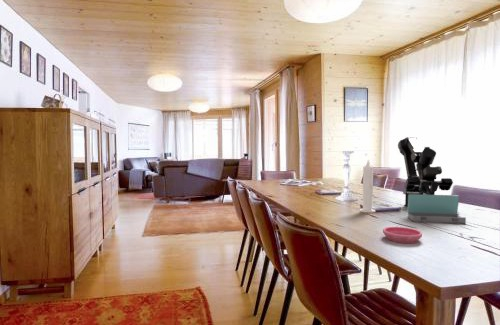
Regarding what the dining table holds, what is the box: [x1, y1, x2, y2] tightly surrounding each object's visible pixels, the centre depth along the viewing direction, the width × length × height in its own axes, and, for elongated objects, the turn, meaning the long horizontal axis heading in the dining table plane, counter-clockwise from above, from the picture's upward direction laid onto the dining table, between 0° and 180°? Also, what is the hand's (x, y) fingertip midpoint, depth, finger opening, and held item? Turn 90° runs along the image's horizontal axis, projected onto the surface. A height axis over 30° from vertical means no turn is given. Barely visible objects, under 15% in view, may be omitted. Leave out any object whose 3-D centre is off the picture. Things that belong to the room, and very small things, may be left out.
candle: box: [359, 159, 376, 214], centre depth 161 cm, size 7×7×25 cm
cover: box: [407, 194, 460, 214], centre depth 146 cm, size 8×20×1 cm
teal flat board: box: [407, 212, 467, 225], centre depth 142 cm, size 9×20×2 cm, turn 80°
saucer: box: [382, 226, 423, 244], centre depth 116 cm, size 12×12×3 cm
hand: (432, 198), depth 146 cm, fingers closed, pressing on cover
